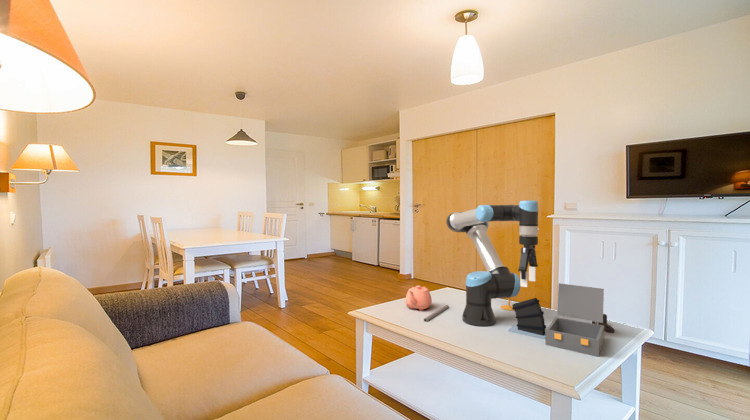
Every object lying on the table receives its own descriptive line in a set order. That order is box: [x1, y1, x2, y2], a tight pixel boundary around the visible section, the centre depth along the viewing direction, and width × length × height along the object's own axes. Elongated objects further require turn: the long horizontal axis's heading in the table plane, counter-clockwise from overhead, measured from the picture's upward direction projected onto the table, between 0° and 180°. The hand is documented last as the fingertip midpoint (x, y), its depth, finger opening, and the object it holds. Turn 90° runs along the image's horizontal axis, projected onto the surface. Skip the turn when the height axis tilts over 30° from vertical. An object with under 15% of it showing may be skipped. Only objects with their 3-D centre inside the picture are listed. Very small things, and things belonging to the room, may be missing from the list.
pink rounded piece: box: [404, 285, 432, 312], centre depth 187 cm, size 13×20×12 cm, turn 148°
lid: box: [556, 283, 605, 323], centre depth 149 cm, size 17×14×1 cm
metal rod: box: [423, 304, 450, 323], centre depth 177 cm, size 2×27×2 cm, turn 146°
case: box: [545, 317, 605, 358], centre depth 141 cm, size 18×25×16 cm
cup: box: [500, 297, 514, 311], centre depth 187 cm, size 9×9×16 cm
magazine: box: [511, 297, 547, 335], centre depth 151 cm, size 4×13×15 cm, turn 47°
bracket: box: [591, 313, 615, 334], centre depth 157 cm, size 6×12×5 cm, turn 164°
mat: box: [507, 324, 546, 340], centre depth 151 cm, size 15×8×1 cm, turn 52°
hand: (528, 283), depth 151 cm, fingers open, 13 cm apart
